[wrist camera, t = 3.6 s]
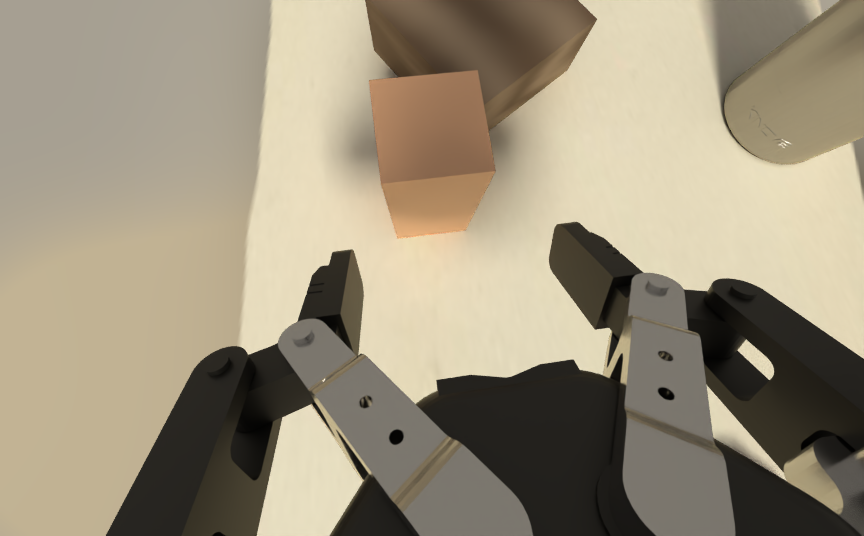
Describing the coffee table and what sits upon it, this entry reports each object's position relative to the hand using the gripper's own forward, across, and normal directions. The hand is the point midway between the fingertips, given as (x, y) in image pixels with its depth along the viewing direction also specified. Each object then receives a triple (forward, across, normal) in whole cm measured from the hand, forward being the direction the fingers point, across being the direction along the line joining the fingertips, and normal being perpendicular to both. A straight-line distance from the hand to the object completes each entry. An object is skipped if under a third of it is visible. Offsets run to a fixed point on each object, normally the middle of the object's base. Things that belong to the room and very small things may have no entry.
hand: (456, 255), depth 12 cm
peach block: (+13, 0, +3) cm, 13 cm away
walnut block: (+22, -6, -5) cm, 23 cm away
